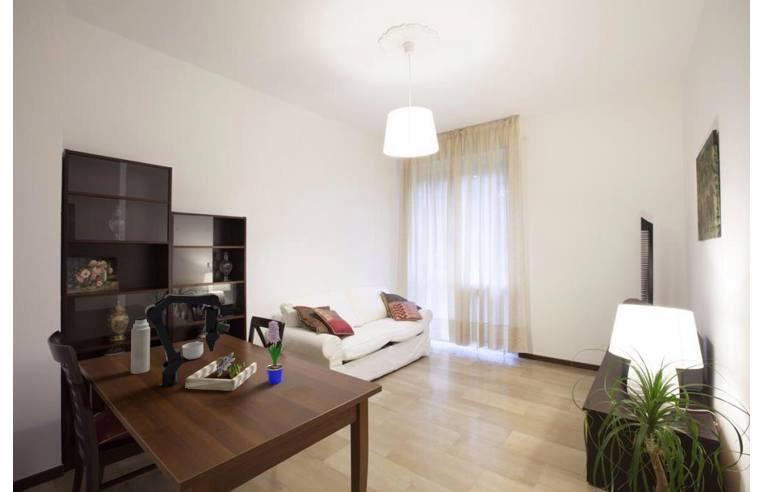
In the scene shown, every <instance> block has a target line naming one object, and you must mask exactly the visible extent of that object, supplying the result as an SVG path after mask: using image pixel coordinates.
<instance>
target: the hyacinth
mask: <svg viewBox="0 0 764 492" xmlns="http://www.w3.org/2000/svg"><path fill="white" fill-rule="evenodd" d="M279 329H280V327H279V322H278V321H275V320H271V321H269V322H268V330H267V336H268V341H269V342H270V344H273V345H270V346H269V347H265V348H266V349H267V350H268V352H269V355H270V356H271V357H270V358H271V360H272V363H271V364H268V365H267V366H266V374H267V382H268V384H271V385H277V384H280V383H281V382H282V381H283V371H284V367H285V366H284V365H283V364H282V363H278V362H277V361H278V359H279V357H280V355H281V353H282V352H283V351H285V349H286V347H284V348H283V349H282V346H283V343H282V342H281V337H280V331H279ZM276 342H277V343H278V342H281V343H280V344H279V345H278V347H277V346H276V345H277V343H276ZM276 347H277V348H276Z"/></svg>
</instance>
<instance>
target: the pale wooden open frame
mask: <svg viewBox="0 0 764 492" xmlns="http://www.w3.org/2000/svg"><path fill="white" fill-rule="evenodd" d="M216 361H217V360H214V361H212V362H211V363H208V364H207V365H206V366H203V367H202V368H201V369H199V370H197V371H196V372H194V373H192V374H191V375H189V376H187V377H186V378H185V383H184V384H185V385H184V386H185V387H184V389H186V388H188V389H190V390H191V389H192V390H211V391H212V390H213V391H233V392H235V390H236V389H237V388H238V387H240V386H241V385H242V384H243V383H245V382H246V381H247V379H249V378H250V377H251V376H252V375H253V374H254V373H256V372H257V367H258V365H257V364H258V363H257V362H255V361H254V362H252V363H251V364H250V365H249V366H247V367H246V368H244V370H241V371H240V373H239V374H238V375H236V376H234V378H231V379H230V378H229V379H228V378H209V377H208V376H210V375H211V374H212V373H215V372H217V368H216V367H217V365H218V363H217V364H216ZM206 377H207V378H206Z"/></svg>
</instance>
